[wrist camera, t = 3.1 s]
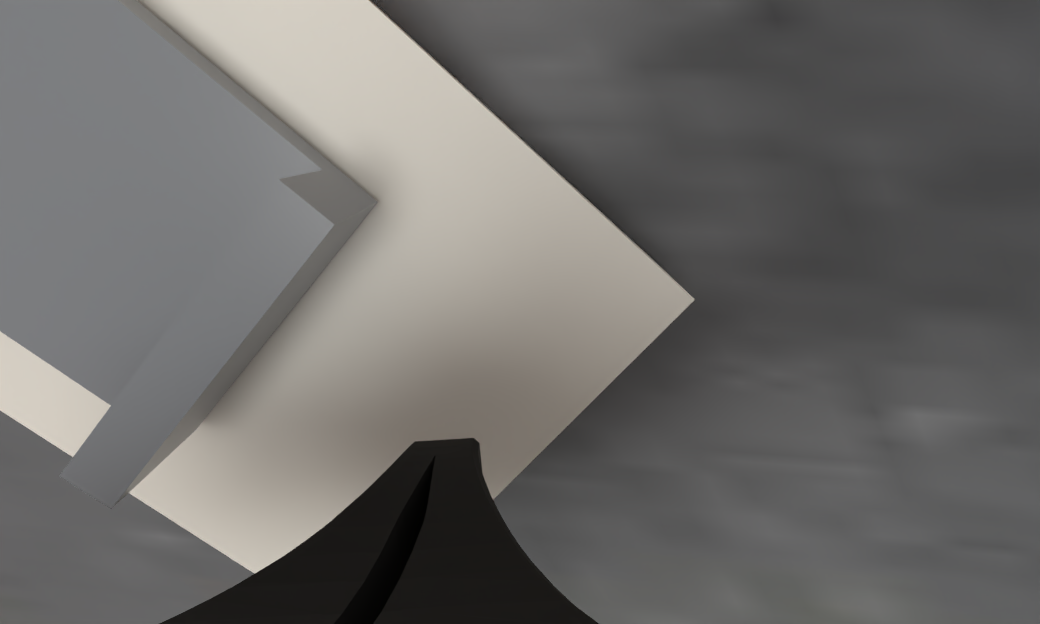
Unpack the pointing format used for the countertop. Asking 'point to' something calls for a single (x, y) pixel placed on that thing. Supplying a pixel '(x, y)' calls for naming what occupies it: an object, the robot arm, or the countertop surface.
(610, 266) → the socket board
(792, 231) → the countertop surface
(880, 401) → the countertop surface
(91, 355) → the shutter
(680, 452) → the countertop surface
